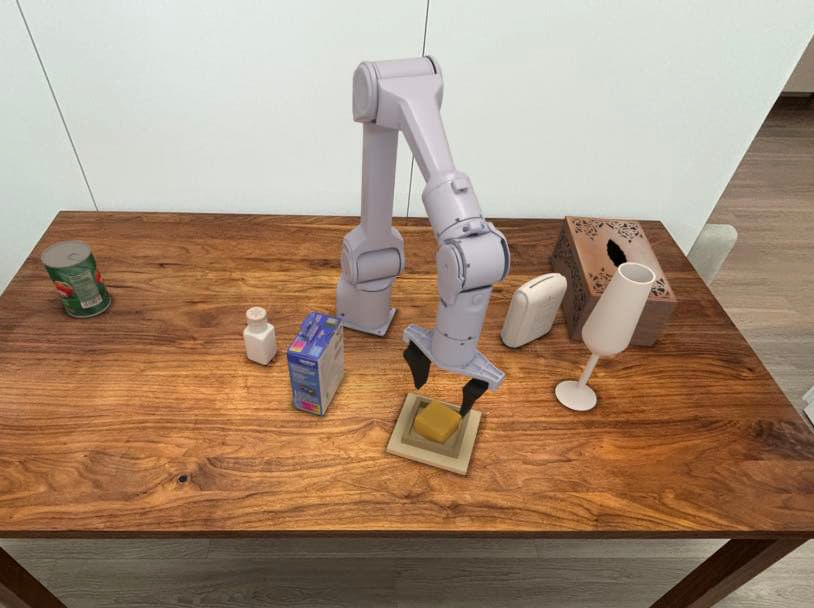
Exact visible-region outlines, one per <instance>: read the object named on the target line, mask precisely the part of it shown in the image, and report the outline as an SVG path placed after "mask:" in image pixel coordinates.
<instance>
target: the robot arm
mask: <svg viewBox="0 0 814 608" xmlns="http://www.w3.org/2000/svg"><path fill="white" fill-rule="evenodd" d="M443 76H444V75H443V71H442V67H441V66H440V63H439V62H438V60H437V58H436V57H435V56H434V55H432V54H426V55H424V56H418V57H408V58H397V59H385V60H384V59H383V60H375V61H369V60H362V61H360V63H359V64H358V66H357V67H356V69H355V70H353V74H352V93H351V95H352V98H351V99H352V103H351V104H352V107H351V110H352V120H353V122H354V123H359V124H362V153H361V154H362V155H361V157H362V158H361V191H360V193H361V195H360V223H359V224H358V225H356V226H355V227H354V228H353V229H351V230H350V231H349V232H348V233H347V234H345V235H344V236H343V241H342V249H341V252H340V257H339V258H340V259H339V260H340V267H341V274H340V276H339V278H338V281H337V285H336V291H335V317H337V318H341V319H342V320H343V328H348V329H351V330H355V331H359V332H364V333H367V334H368V333H369V334H371V335H375V336H379V337H384V336H385V335H386V332H387V331H388V328H389V327H390V324H391V322H392V320H393V318H394V316H395V314H396V312H397V309H396V308H395V307H391V302H392V301H391V300H392V288H393V284H394V283H396V282H397V277H399V276H401V275H402V274H403V272H404V270H405V268H406V254H405V241H404V239H403V236H402V234H401V233H400V231H399V230H398V229H397V228H396V227H394V226H393V225H392V224H393V213H394V212H393V211H394V198H395V197H394V196H395V185H396V171H397V170H396V169H397V159H398V145H399V133H400V132H402V135H403V137H404V139H405V142H406V144H407V145H408V148H409V150H410V152H411V154H412V156H413V158H414V160H415V163H416V165H417V167H418V168H419V171H420V173H421V175H422V177H423V180H424V181H425V184H426V185H425V186H424V188H423V191H422V193H421V202H422V204H423V207H424V210H425V213H426V215H427V219H428V221H429V223H430V226H431V229H432V232H433V235H434V237H435V240H436V243H437V246H438V249H439V250H438V251H436V252H435V253H436V255H435V267H436V272H437V283H436V288H437V294H438V295H439V300H438V305H437V310H436V311H437V312H436V316H435V322H434V328H433V329H429V328H426V327H422V326H420V325H417V324H414V323H410V324H409V325H408V326H407V327H405V328H404V329H403V332H402V341H403V342H404V343H406V344H408V345H407V348H405V349H404V350H403V352H402V358H403V359H404V360H405V362H406V363H407V365H408V367H409V370H410V372H411V375H412V380H413V385H414V389H416V390H418V391H419V390H421V389H422V387H423V386H425V385H426V384H427V383H428V379H429V376H430V371H431V364H433V365H434V366H436V367H437V368H439V369H441V370H443V371H446V372H449V373H454V374H457V375H461V376H464V377H468V378H471V379H469V380H468V381H467V382H466V384H464V386H462V389H461V392H462V402H461V405H460V406H461V408H460V412H459V415H461V416H463V417H464V416H465V415H466V414H467V413H468V412H469V411H470V410H471V409H472V408H473V406H474V404H475V403H476V402H477V400H479V399H480V398H481V397H482V396H483V395H484V394H485V393H486V392H487V391H488V390H489V391H492V393H495V392H496V391H497V390H498V389H499V388H500V387H501V386H502V385H503V381H504V379H505V376H506V373H505V372H504V371H502V370H500V369H499V368H497V366H495V365H494V364H493V363H492V362H491V361H490V360H488V358H486V356H485V355H484V354H482V353H481V351H480V350H479V349H477V348H478V345H479V342H480V341H479V340H480V337H481V333H482V329H483V326H484V321H485V318H486V314H487V310H488V306H489V303H490V300H491V296H492V293H493V292H492V291H493V287H494V285H496V284H497V283H501V282H503V281H505V280H506V278H507V276H508V275H509V272H510V269H511V268H510V267H511V254H510V253H511V252H510V248H509V245H508V243H507V238H506V236H505V235H504V234H503V233H502V232H501V231H500V230H499V229H497V228H496V227H495V226H494V223H493V222H492V221H486V218H485V214H484V213H483V210H482V207H481V205H480V202H479V200H478V197H477V194H476V192H475V189H474V187H473V183H472V181H471V178H470V176H469V175H468V174H467V173H465V172H464V171H460V170H457V169H456V166H455V162H454V159H453V154H452V152H451V149H450V143H449V140H448V137H447V134H446V130H445V127H444V122H443V119H442V116H441V115H442V114H441V108H442V104H443V101H444V89H445V88H444V85H445V84H444V77H443Z"/></svg>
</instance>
